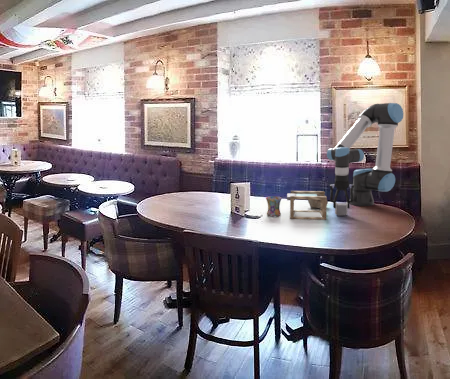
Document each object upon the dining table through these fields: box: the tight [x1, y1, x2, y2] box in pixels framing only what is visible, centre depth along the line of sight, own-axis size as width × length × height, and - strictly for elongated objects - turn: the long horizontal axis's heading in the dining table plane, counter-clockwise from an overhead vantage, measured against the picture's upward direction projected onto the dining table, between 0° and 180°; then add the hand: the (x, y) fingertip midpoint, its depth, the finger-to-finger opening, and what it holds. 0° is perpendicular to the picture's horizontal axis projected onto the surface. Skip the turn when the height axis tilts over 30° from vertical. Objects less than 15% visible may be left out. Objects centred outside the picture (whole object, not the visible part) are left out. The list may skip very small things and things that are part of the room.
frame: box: [289, 190, 328, 221], centre depth 235 cm, size 20×18×13 cm
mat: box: [294, 212, 322, 217], centre depth 236 cm, size 15×13×1 cm
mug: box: [265, 195, 282, 217], centre depth 239 cm, size 12×9×11 cm
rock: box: [307, 194, 329, 209], centre depth 257 cm, size 14×10×8 cm
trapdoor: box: [286, 192, 317, 201], centre depth 235 cm, size 17×14×2 cm
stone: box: [336, 202, 347, 216], centre depth 235 cm, size 5×5×6 cm
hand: (341, 213), depth 235 cm, fingers closed on stone, 5 cm apart
